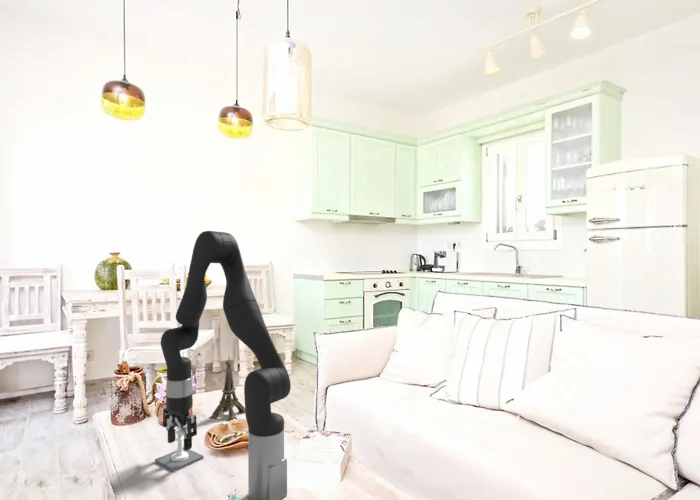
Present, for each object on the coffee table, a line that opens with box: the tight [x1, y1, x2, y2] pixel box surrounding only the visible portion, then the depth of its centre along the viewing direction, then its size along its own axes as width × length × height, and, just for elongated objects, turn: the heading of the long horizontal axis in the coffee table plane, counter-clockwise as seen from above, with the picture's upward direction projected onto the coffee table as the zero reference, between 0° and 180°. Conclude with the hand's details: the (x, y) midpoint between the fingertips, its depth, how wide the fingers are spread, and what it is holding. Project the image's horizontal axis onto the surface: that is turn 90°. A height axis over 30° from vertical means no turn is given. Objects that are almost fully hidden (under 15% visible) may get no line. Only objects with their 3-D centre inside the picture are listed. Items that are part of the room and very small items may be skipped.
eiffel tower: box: [208, 357, 245, 422], centre depth 170 cm, size 11×11×25 cm
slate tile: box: [154, 447, 205, 473], centre depth 134 cm, size 10×10×1 cm
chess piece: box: [171, 426, 188, 461], centre depth 133 cm, size 5×5×10 cm
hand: (179, 445), depth 134 cm, fingers open, 8 cm apart
